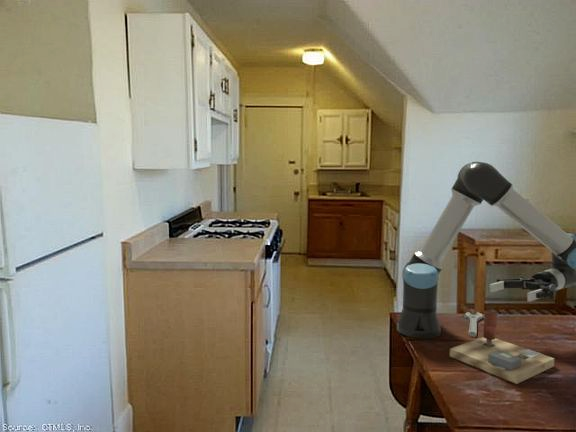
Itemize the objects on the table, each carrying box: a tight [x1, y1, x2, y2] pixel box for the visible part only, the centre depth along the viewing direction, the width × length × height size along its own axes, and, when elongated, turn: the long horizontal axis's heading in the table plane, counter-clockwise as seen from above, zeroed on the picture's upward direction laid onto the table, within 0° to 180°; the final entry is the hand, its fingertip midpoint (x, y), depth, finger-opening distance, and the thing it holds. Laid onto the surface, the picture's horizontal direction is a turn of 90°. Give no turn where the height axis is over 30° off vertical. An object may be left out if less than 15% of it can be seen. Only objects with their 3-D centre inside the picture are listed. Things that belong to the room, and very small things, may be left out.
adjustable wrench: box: [463, 311, 484, 338], centre depth 177 cm, size 25×6×2 cm, turn 153°
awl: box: [482, 310, 498, 347], centre depth 152 cm, size 4×4×13 cm
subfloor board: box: [449, 336, 555, 385], centre depth 146 cm, size 22×20×3 cm
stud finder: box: [488, 350, 521, 371], centre depth 138 cm, size 7×5×2 cm
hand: (508, 292), depth 155 cm, fingers open, 13 cm apart
